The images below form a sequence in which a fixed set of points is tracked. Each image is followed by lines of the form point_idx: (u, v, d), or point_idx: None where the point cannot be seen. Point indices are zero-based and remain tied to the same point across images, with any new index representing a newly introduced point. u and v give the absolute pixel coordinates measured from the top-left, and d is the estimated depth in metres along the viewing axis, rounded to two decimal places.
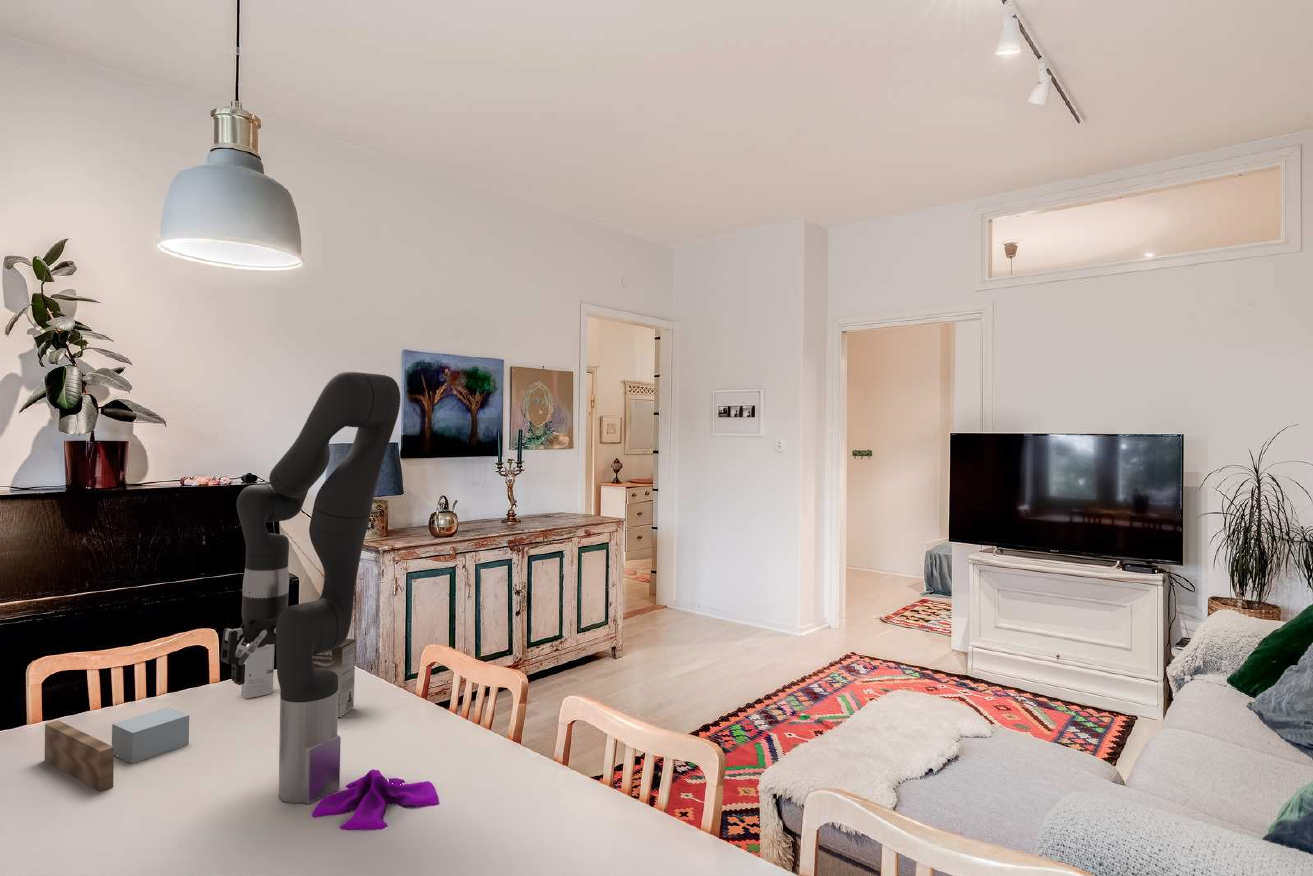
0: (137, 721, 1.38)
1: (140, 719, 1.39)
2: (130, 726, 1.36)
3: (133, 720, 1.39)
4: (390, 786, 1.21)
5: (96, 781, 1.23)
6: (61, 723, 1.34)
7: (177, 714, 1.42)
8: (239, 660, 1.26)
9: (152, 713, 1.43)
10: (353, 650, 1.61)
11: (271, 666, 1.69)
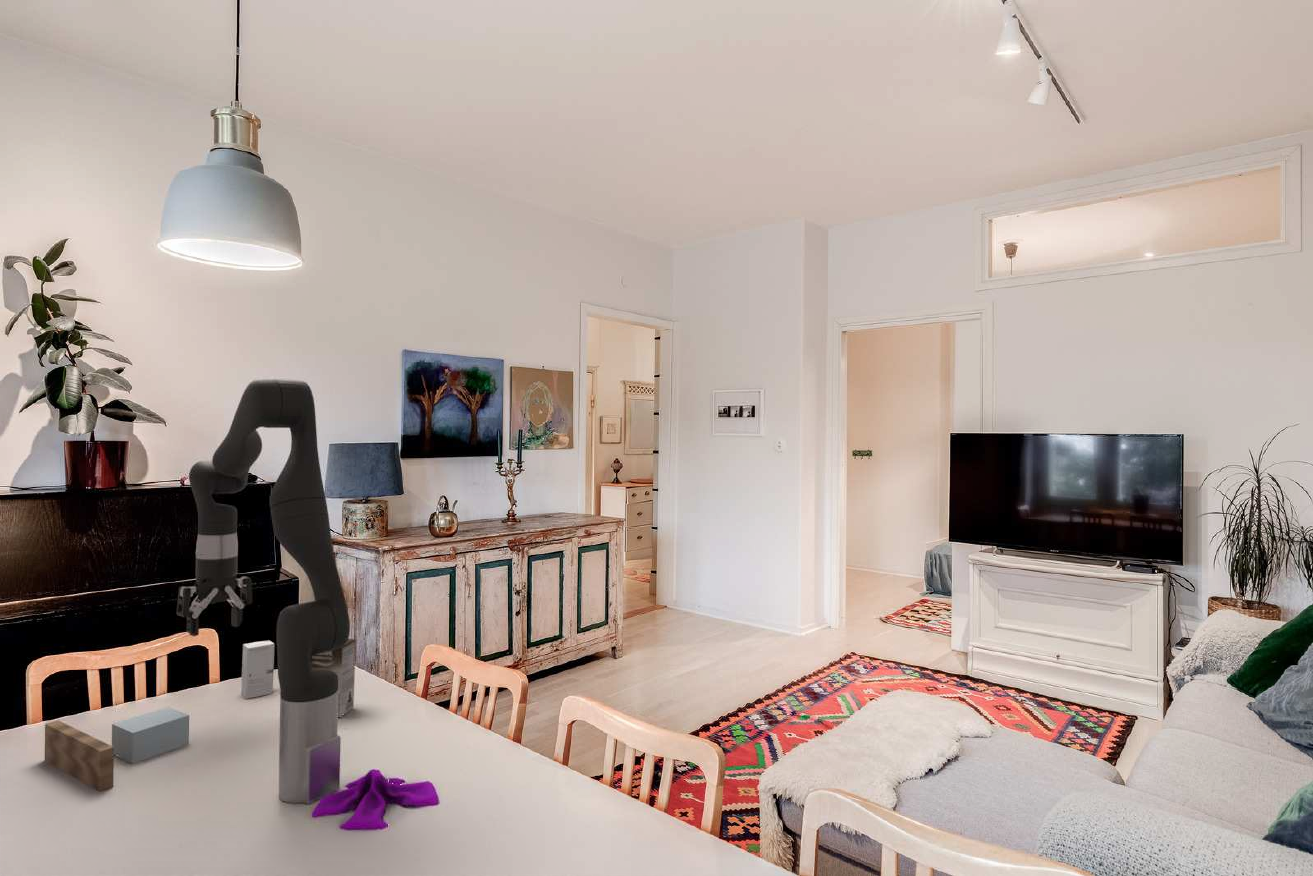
0: (137, 721, 1.38)
1: (140, 719, 1.39)
2: (130, 726, 1.36)
3: (133, 720, 1.39)
4: (390, 786, 1.21)
5: (96, 781, 1.23)
6: (61, 723, 1.34)
7: (177, 714, 1.42)
8: (193, 614, 1.45)
9: (152, 713, 1.43)
10: (353, 650, 1.61)
11: (271, 666, 1.69)
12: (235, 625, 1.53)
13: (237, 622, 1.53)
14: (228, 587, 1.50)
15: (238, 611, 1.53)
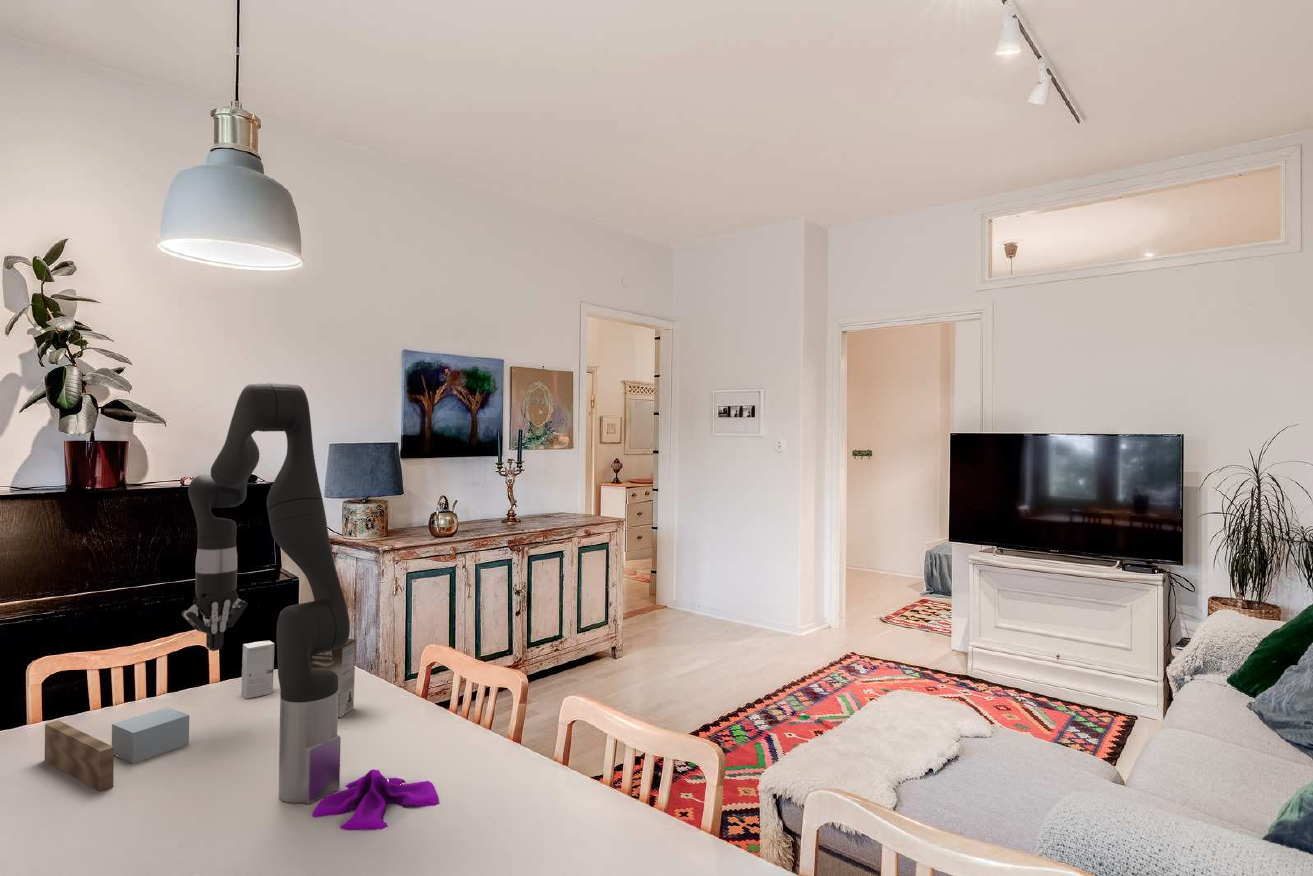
0: (137, 721, 1.38)
1: (140, 719, 1.39)
2: (130, 726, 1.36)
3: (133, 720, 1.39)
4: (390, 786, 1.21)
5: (96, 781, 1.23)
6: (61, 723, 1.34)
7: (177, 714, 1.42)
8: (211, 631, 1.48)
9: (152, 713, 1.43)
10: (353, 650, 1.61)
11: (271, 666, 1.69)
12: None
13: (218, 645, 1.49)
14: (228, 602, 1.50)
15: (219, 634, 1.50)
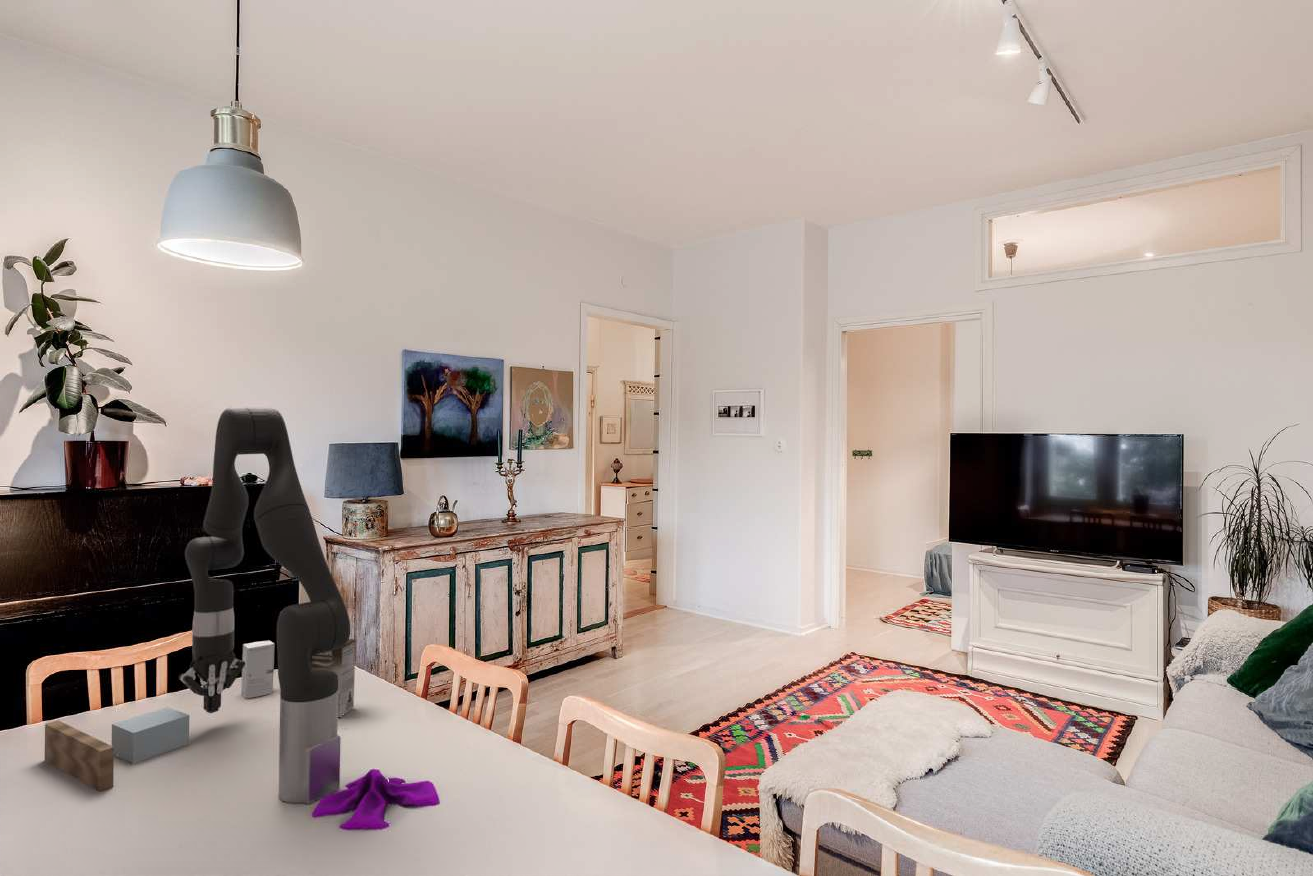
0: (137, 721, 1.38)
1: (140, 719, 1.39)
2: (130, 726, 1.36)
3: (133, 720, 1.39)
4: (390, 785, 1.21)
5: (96, 781, 1.23)
6: (61, 723, 1.34)
7: (177, 714, 1.42)
8: (209, 693, 1.48)
9: (152, 713, 1.43)
10: (353, 650, 1.61)
11: (271, 666, 1.69)
12: None
13: (215, 707, 1.49)
14: (225, 663, 1.50)
15: (216, 696, 1.49)
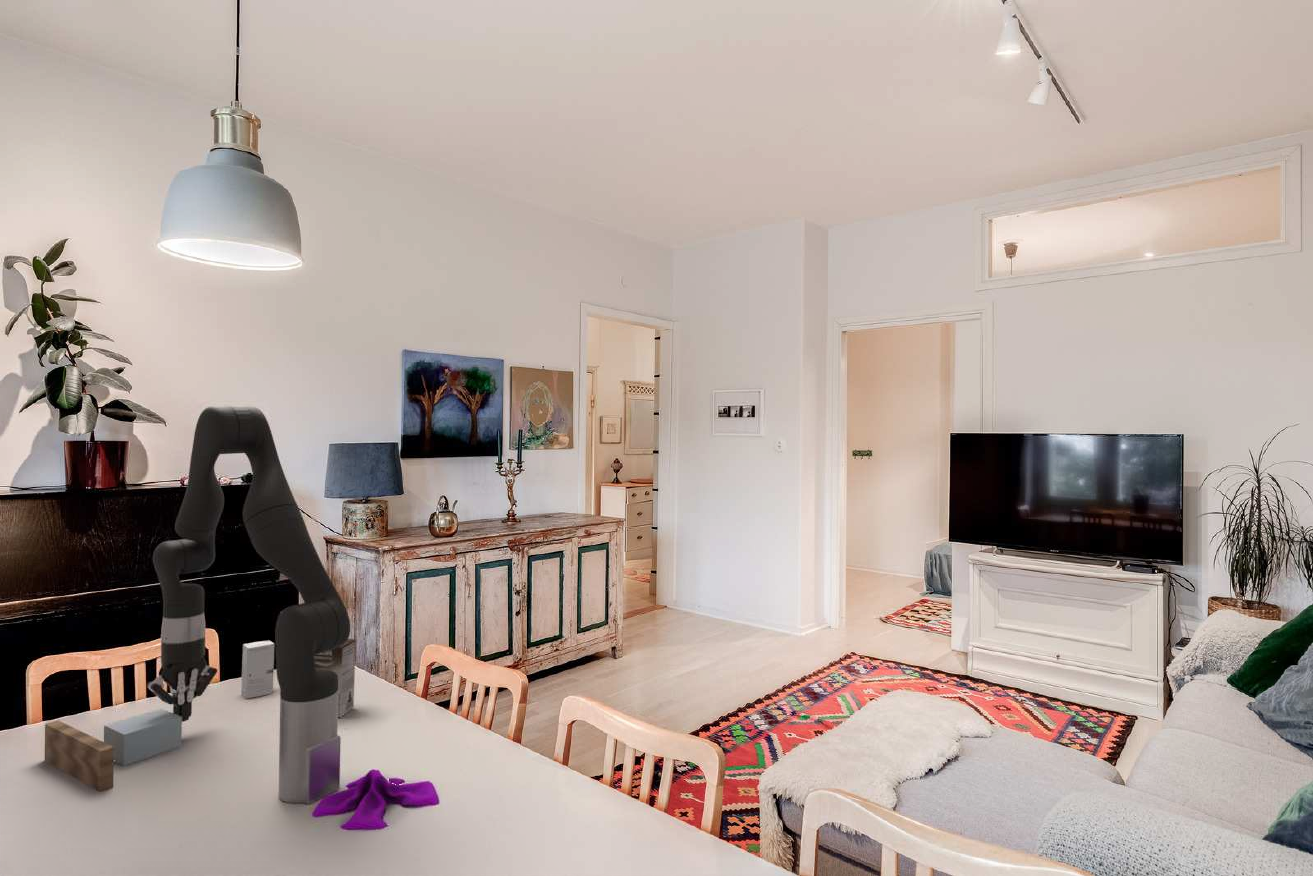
0: (129, 723, 1.37)
1: (132, 721, 1.38)
2: (122, 728, 1.35)
3: (125, 721, 1.38)
4: (390, 786, 1.21)
5: (96, 781, 1.23)
6: (61, 723, 1.34)
7: (170, 716, 1.41)
8: (178, 702, 1.43)
9: (145, 714, 1.42)
10: (353, 650, 1.61)
11: (271, 666, 1.69)
12: None
13: (186, 716, 1.44)
14: (196, 670, 1.45)
15: (186, 704, 1.44)
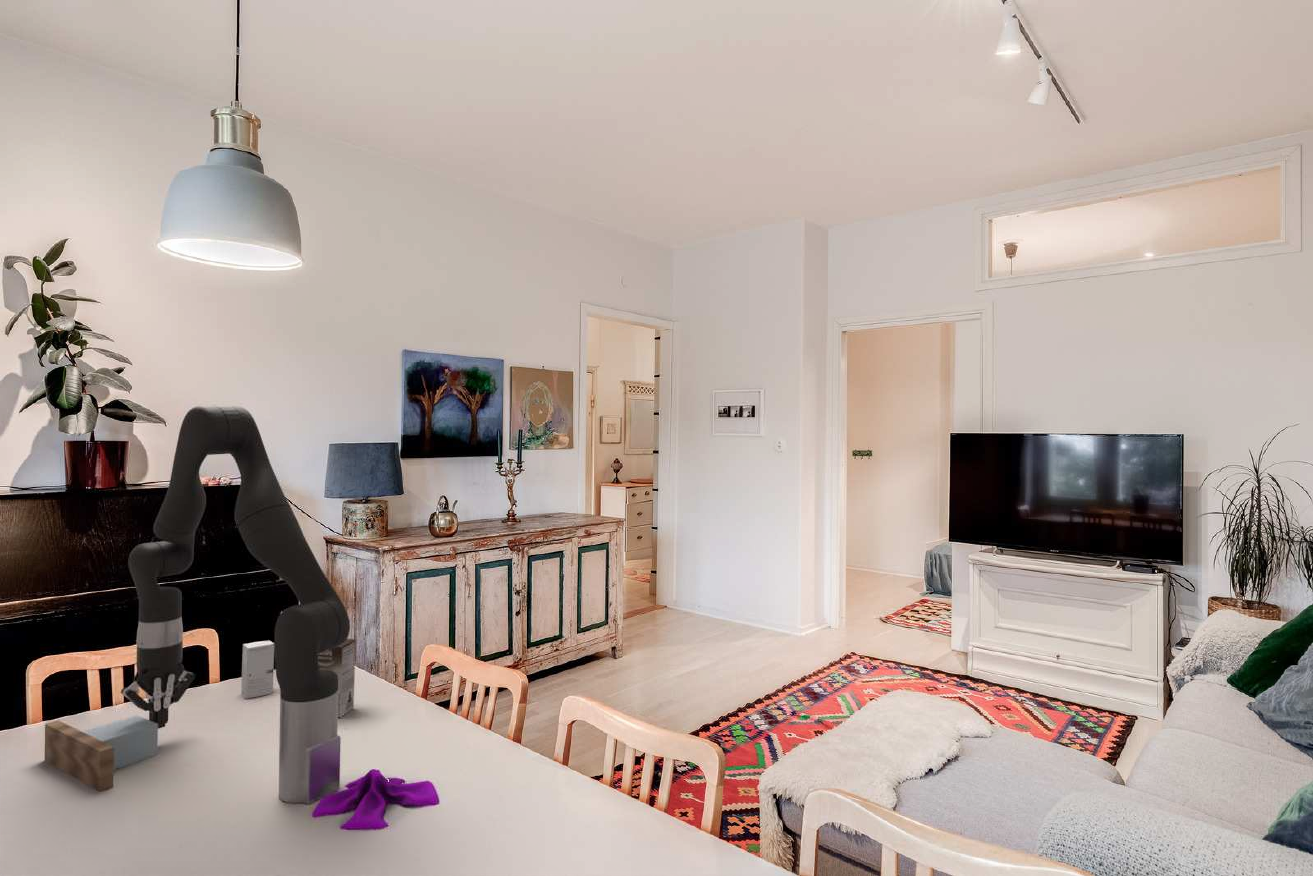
0: (103, 730, 1.34)
1: (106, 728, 1.35)
2: (95, 736, 1.31)
3: (99, 729, 1.34)
4: (390, 786, 1.21)
5: (96, 781, 1.23)
6: (61, 723, 1.34)
7: (145, 723, 1.37)
8: (154, 708, 1.39)
9: (120, 721, 1.38)
10: (353, 650, 1.61)
11: (271, 666, 1.69)
12: None
13: (162, 723, 1.40)
14: (173, 676, 1.41)
15: (163, 711, 1.41)
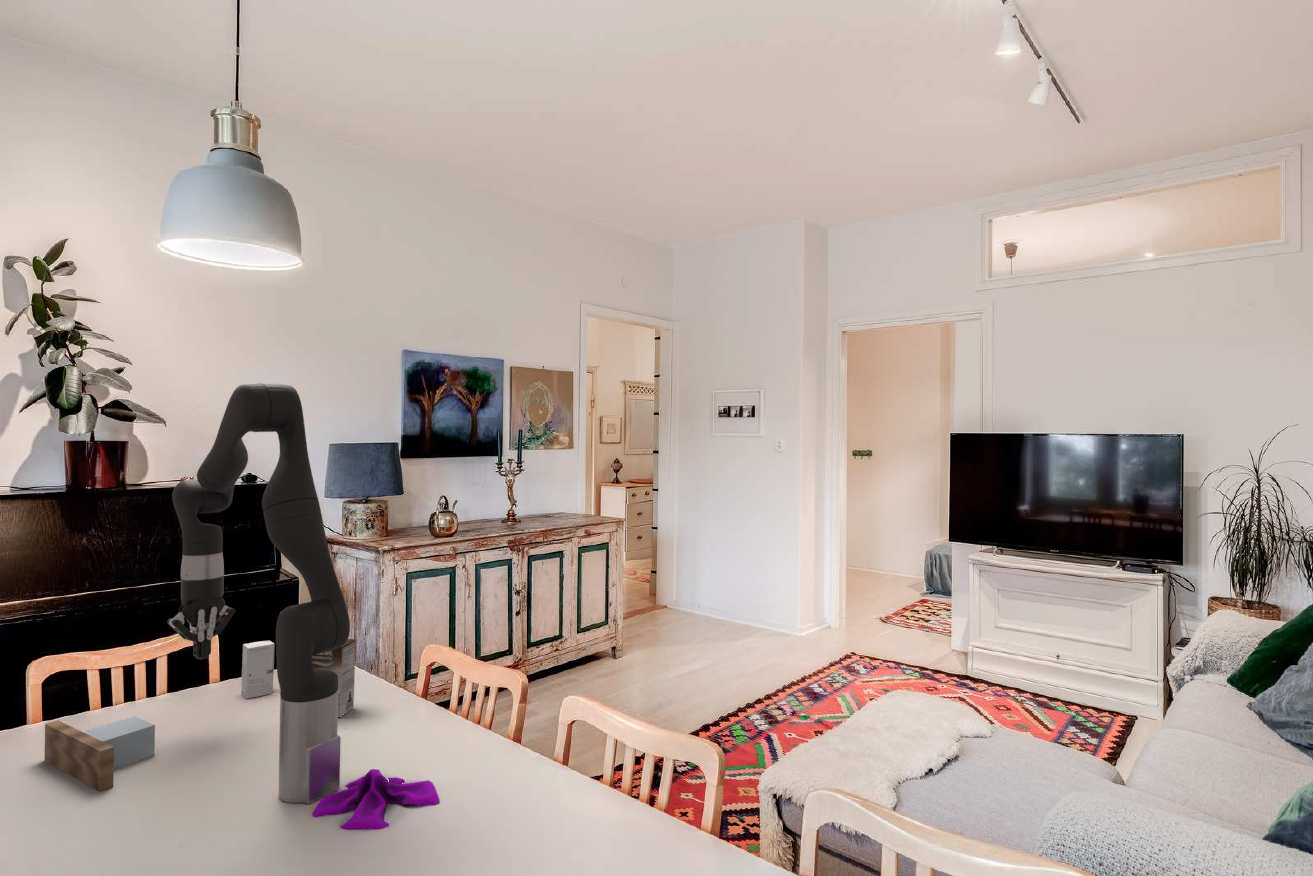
0: (99, 732, 1.33)
1: (103, 729, 1.34)
2: None
3: (96, 730, 1.34)
4: (390, 785, 1.21)
5: (96, 781, 1.23)
6: (61, 723, 1.34)
7: (142, 724, 1.37)
8: (198, 639, 1.45)
9: (117, 722, 1.38)
10: (353, 650, 1.61)
11: (271, 666, 1.69)
12: None
13: (205, 654, 1.46)
14: (215, 609, 1.47)
15: (206, 642, 1.47)
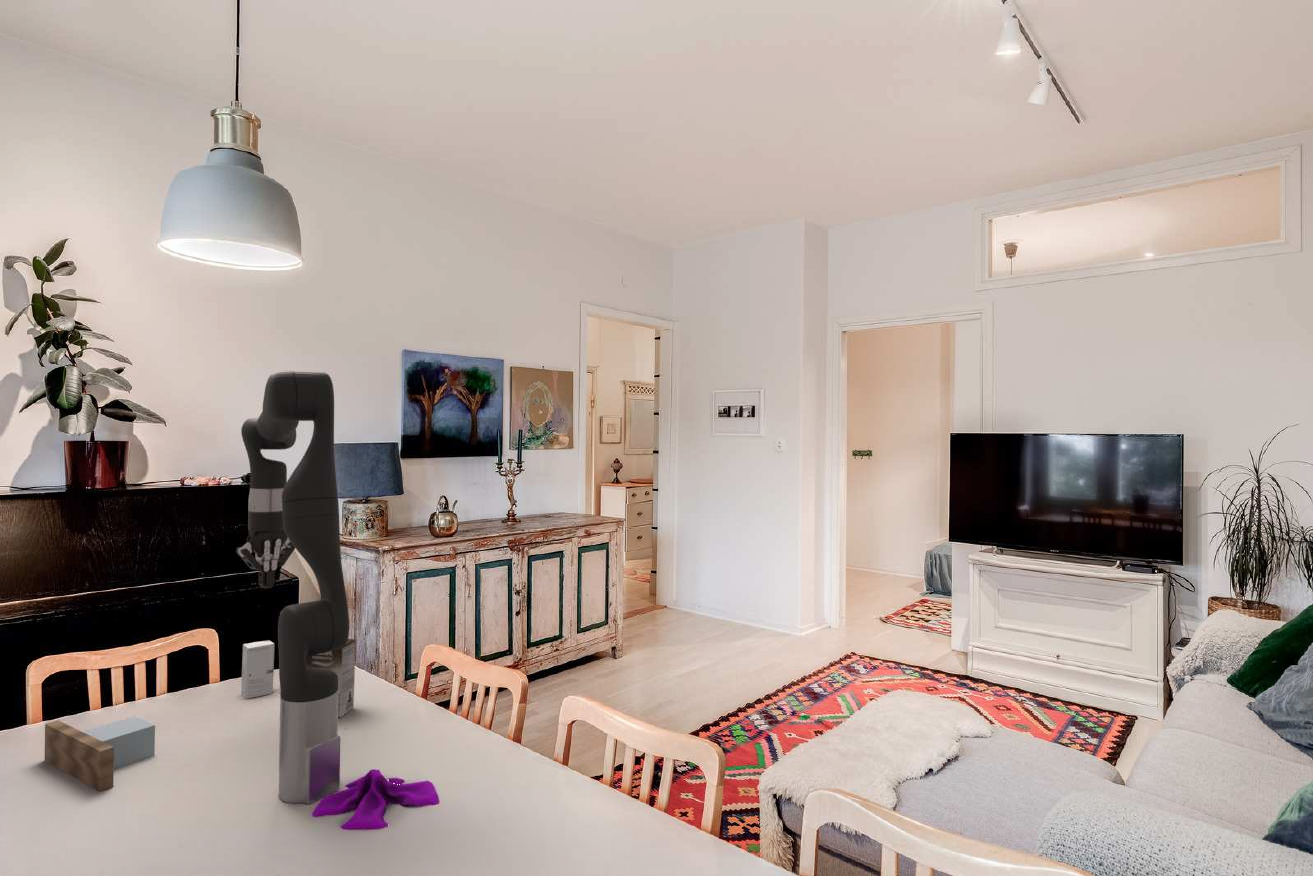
0: (100, 731, 1.33)
1: (104, 729, 1.34)
2: None
3: (96, 730, 1.34)
4: (390, 786, 1.21)
5: (96, 781, 1.23)
6: (61, 723, 1.34)
7: (143, 724, 1.37)
8: (264, 568, 1.53)
9: (117, 722, 1.38)
10: (353, 650, 1.61)
11: (271, 666, 1.69)
12: None
13: (270, 583, 1.54)
14: (279, 541, 1.55)
15: (271, 572, 1.54)
